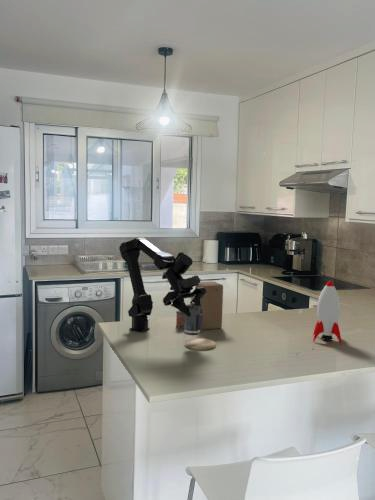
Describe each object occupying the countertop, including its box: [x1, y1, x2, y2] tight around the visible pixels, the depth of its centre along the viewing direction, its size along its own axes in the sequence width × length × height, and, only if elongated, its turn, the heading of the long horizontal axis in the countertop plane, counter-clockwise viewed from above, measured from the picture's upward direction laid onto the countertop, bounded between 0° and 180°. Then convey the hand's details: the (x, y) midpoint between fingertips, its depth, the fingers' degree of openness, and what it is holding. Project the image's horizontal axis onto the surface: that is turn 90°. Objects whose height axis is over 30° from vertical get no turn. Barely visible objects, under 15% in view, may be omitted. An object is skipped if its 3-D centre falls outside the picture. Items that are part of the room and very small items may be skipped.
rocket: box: [312, 280, 343, 346], centre depth 187 cm, size 11×11×25 cm
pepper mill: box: [184, 302, 203, 336], centre depth 171 cm, size 8×6×12 cm
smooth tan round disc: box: [184, 337, 217, 351], centre depth 176 cm, size 12×12×1 cm
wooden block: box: [194, 281, 224, 331], centre depth 204 cm, size 10×10×20 cm
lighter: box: [175, 309, 185, 330], centre depth 203 cm, size 8×3×10 cm, turn 141°
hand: (195, 314), depth 171 cm, fingers closed on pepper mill, 6 cm apart
